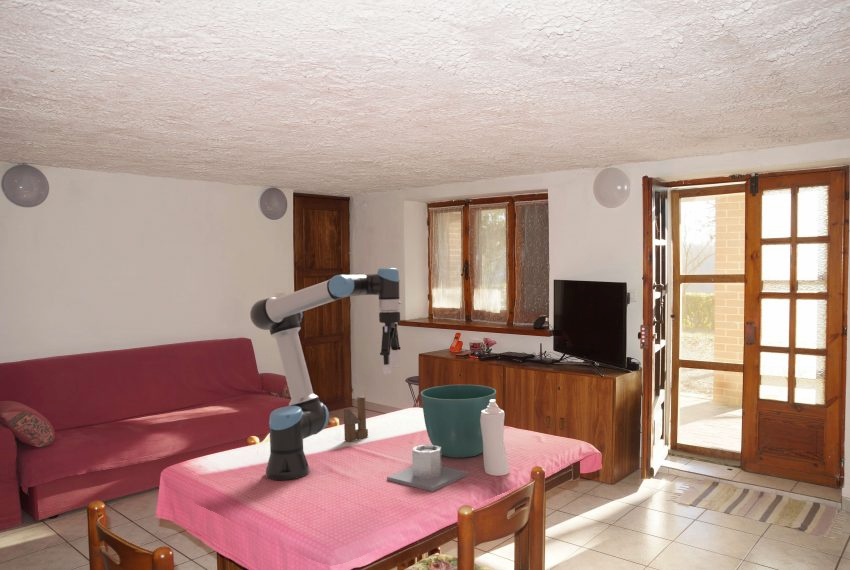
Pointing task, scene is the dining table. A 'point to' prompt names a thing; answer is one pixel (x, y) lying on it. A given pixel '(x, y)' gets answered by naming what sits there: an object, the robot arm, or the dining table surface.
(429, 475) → the collar
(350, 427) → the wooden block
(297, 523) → the dining table surface
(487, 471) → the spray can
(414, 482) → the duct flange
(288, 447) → the robot arm
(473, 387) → the flower pot
